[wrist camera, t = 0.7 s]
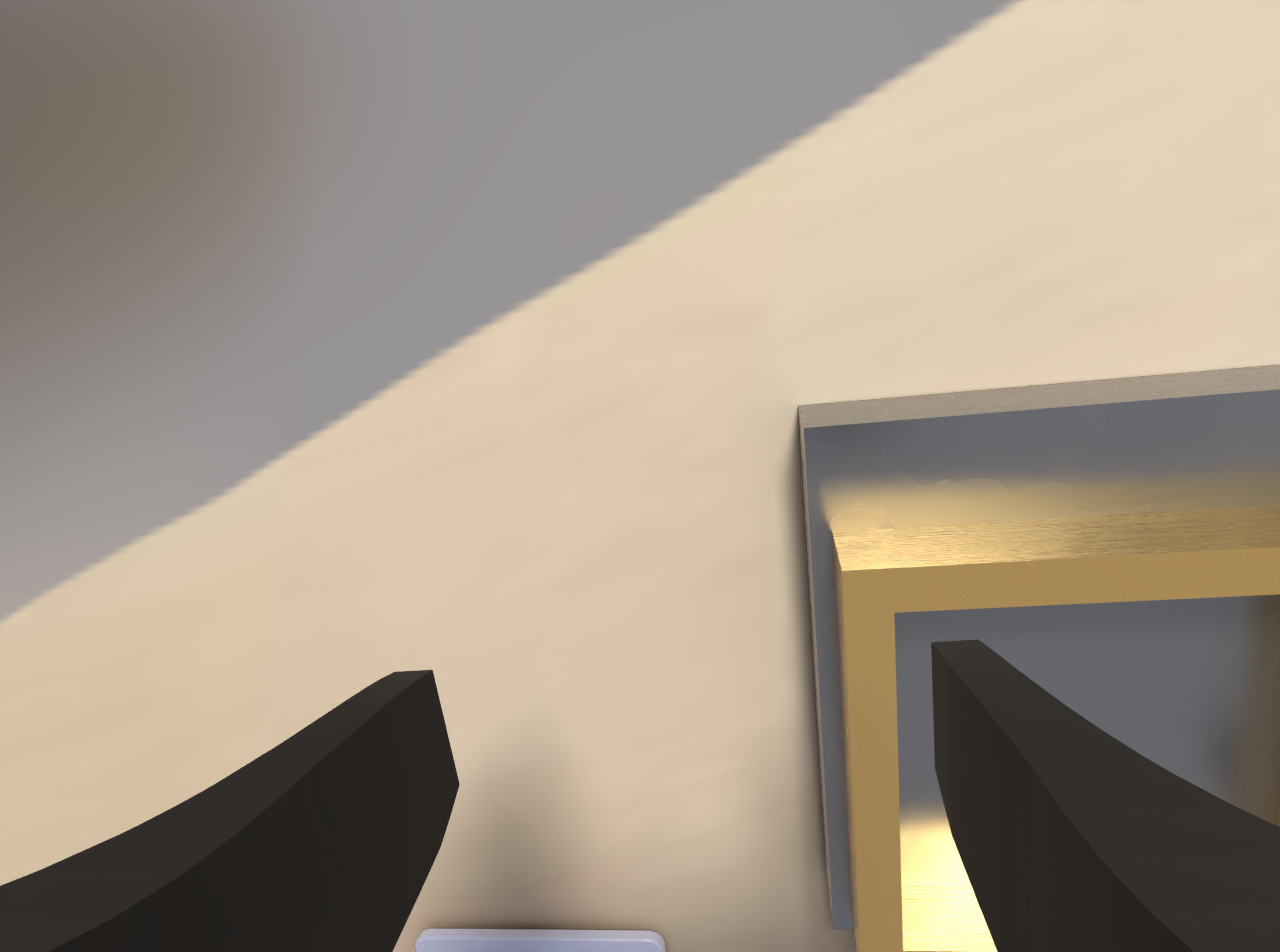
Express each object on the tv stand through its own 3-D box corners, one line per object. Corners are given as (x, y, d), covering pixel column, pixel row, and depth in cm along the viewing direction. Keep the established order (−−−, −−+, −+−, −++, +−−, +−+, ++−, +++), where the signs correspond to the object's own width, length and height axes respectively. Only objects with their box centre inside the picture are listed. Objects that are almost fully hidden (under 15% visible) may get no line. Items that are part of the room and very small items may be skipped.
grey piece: (1448, 870, 22) (1641, 1057, 17) (826, 871, 24) (846, 1035, 19) (1569, 340, 17) (1872, 393, 13) (798, 405, 20) (814, 471, 15)
